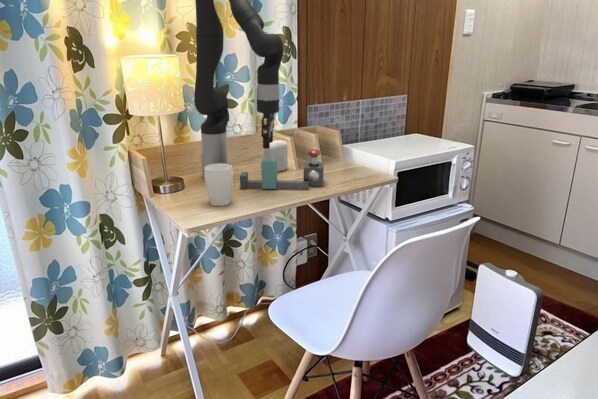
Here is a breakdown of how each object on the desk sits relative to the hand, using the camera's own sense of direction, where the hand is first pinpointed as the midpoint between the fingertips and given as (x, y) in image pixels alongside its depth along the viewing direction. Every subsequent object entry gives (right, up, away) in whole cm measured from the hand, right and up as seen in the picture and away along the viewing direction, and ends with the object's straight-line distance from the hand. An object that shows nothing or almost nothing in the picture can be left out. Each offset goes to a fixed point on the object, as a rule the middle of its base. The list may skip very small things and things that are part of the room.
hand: (268, 145), depth 159 cm
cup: (-15, -20, -9) cm, 26 cm away
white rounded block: (+2, -8, +25) cm, 26 cm away
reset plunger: (+16, -8, +9) cm, 20 cm away
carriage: (0, -15, +5) cm, 16 cm away
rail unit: (+5, -13, +9) cm, 17 cm away
